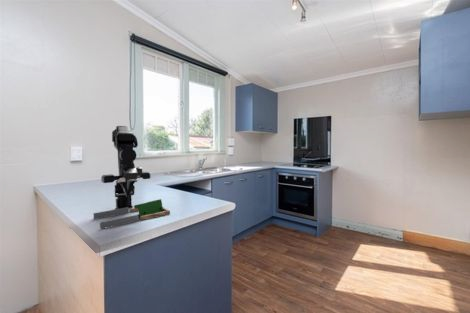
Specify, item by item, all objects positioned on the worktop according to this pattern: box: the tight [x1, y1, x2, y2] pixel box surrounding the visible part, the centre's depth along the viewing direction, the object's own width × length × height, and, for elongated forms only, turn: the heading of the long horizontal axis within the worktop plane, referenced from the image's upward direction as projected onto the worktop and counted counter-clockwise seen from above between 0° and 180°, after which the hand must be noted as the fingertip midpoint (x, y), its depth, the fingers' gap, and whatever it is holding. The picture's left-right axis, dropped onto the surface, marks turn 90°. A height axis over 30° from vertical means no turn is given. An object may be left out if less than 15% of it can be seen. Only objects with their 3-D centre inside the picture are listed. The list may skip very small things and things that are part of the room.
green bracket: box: [133, 198, 163, 217], centre depth 105 cm, size 12×6×9 cm, turn 140°
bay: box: [129, 207, 171, 221], centre depth 106 cm, size 13×16×2 cm
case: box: [92, 207, 140, 229], centre depth 96 cm, size 14×16×2 cm
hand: (127, 196), depth 99 cm, fingers closed
